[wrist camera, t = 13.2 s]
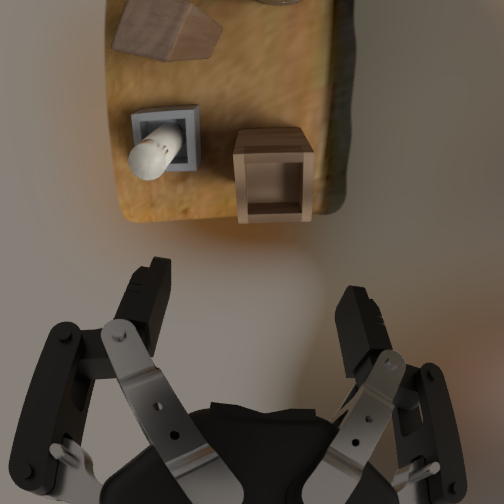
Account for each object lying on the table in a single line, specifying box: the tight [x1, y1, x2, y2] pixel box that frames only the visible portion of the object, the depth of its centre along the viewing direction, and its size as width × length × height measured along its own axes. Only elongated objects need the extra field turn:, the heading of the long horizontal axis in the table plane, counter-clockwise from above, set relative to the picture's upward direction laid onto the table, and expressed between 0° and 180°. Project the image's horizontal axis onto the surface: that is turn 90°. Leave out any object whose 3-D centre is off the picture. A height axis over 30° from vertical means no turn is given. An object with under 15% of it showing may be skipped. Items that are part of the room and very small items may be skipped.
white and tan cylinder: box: [128, 122, 185, 180], centre depth 31 cm, size 4×4×9 cm
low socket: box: [131, 105, 202, 172], centre depth 34 cm, size 8×8×4 cm
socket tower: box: [233, 128, 314, 223], centre depth 33 cm, size 8×8×10 cm
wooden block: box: [111, 0, 222, 62], centre depth 20 cm, size 9×4×18 cm, turn 67°
